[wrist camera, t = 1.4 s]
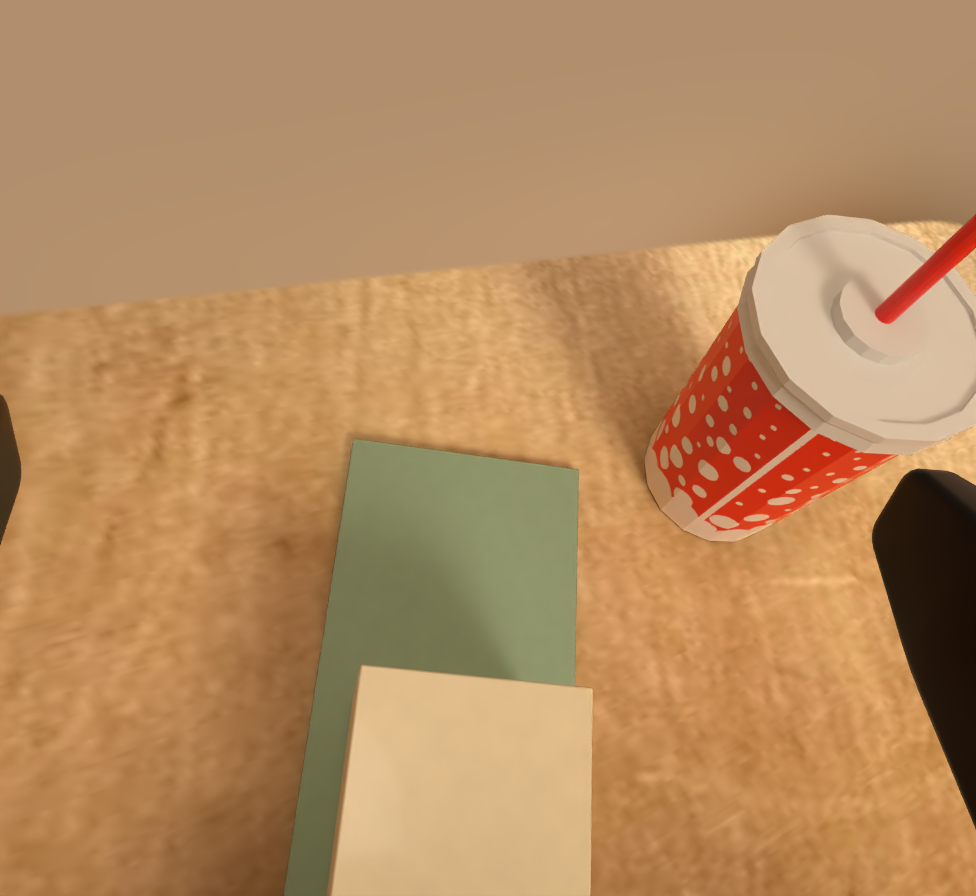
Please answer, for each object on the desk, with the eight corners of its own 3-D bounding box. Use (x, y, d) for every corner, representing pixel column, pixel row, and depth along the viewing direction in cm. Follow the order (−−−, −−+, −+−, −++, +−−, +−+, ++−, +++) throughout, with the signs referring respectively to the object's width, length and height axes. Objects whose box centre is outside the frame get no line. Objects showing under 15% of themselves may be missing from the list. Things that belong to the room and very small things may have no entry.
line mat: (557, 1453, 16) (561, 1462, 16) (196, 1462, 15) (194, 1474, 15) (576, 473, 26) (579, 469, 26) (352, 442, 25) (353, 437, 25)
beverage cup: (825, 457, 28) (1235, 149, 15) (758, 604, 25) (1190, 374, 13) (670, 360, 28) (945, -13, 16) (587, 494, 26) (842, 169, 13)
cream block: (530, 931, 20) (590, 959, 15) (322, 919, 19) (323, 944, 15) (538, 717, 22) (593, 687, 18) (352, 699, 21) (360, 663, 17)
